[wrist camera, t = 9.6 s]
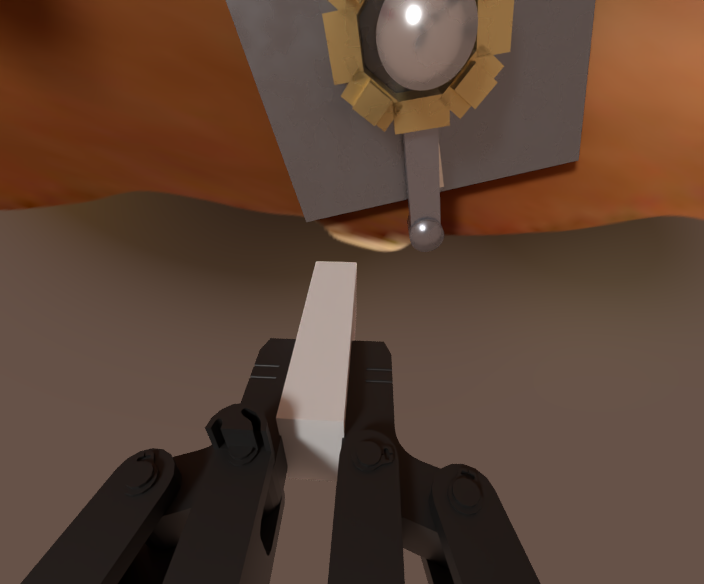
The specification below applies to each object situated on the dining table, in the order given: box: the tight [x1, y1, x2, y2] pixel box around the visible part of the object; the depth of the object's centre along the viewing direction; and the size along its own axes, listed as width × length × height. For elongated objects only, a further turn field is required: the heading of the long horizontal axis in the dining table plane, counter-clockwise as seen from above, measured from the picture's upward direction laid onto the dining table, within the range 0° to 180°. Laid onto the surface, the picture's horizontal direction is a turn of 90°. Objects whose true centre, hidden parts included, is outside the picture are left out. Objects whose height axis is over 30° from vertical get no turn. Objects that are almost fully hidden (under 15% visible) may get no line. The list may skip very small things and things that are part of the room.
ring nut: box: [322, 0, 514, 252], centre depth 25 cm, size 21×11×6 cm, turn 10°
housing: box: [226, 0, 595, 222], centre depth 22 cm, size 24×24×11 cm
